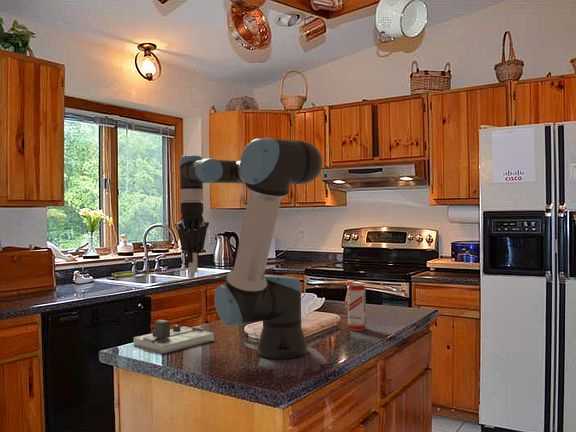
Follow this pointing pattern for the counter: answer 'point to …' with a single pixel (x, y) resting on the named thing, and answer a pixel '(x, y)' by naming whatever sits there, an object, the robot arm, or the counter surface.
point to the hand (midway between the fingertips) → (193, 272)
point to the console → (174, 339)
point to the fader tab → (162, 329)
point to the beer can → (356, 307)
